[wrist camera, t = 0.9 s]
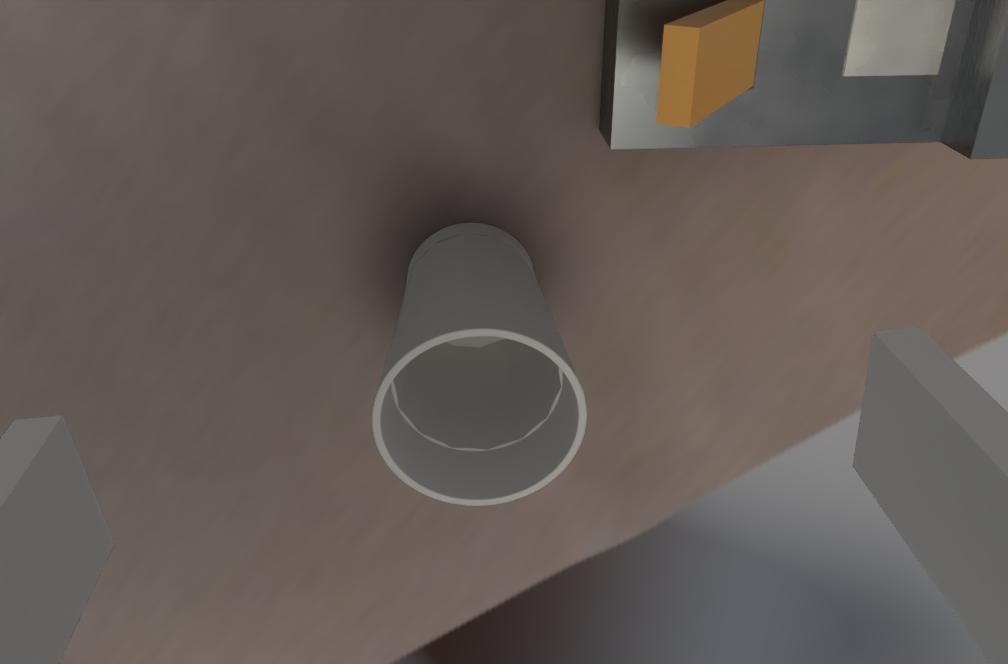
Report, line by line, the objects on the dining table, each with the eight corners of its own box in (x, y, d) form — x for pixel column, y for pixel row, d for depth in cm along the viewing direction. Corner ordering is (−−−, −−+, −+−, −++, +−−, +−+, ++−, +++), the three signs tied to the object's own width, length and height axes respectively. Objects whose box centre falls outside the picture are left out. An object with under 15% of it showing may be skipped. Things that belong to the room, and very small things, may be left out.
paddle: (730, 82, 35) (655, 128, 29) (741, -11, 33) (664, 18, 27) (759, 86, 35) (689, 133, 29) (772, -9, 33) (700, 21, 27)
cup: (426, 180, 39) (420, 297, 29) (579, 243, 41) (624, 373, 31) (366, 320, 43) (341, 470, 32) (510, 372, 45) (530, 528, 34)
